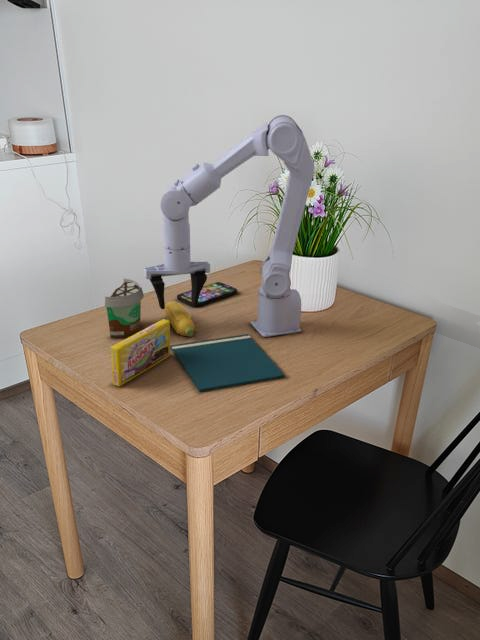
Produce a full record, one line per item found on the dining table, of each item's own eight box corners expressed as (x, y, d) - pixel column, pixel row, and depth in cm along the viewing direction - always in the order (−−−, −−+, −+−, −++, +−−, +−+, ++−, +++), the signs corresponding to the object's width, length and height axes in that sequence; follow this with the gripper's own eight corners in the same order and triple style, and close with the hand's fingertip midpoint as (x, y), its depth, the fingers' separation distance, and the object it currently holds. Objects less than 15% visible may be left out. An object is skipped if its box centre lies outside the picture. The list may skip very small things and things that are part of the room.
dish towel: (247, 336, 142) (247, 333, 142) (284, 377, 127) (285, 374, 126) (170, 347, 136) (170, 344, 136) (199, 392, 121) (199, 389, 121)
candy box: (120, 388, 121) (117, 349, 117) (112, 385, 122) (108, 346, 118) (171, 356, 133) (170, 320, 128) (163, 353, 134) (162, 317, 129)
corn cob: (178, 313, 152) (178, 297, 150) (198, 340, 140) (198, 323, 138) (162, 315, 151) (161, 299, 148) (181, 342, 139) (181, 325, 136)
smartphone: (239, 289, 163) (195, 304, 154) (239, 293, 163) (195, 308, 154) (218, 281, 167) (174, 295, 158) (218, 284, 168) (174, 298, 159)
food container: (135, 343, 138) (132, 300, 132) (108, 340, 138) (104, 297, 133) (152, 321, 148) (150, 280, 142) (127, 318, 149) (124, 277, 143)
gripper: (203, 237, 141) (203, 295, 148) (139, 243, 136) (142, 302, 144) (213, 247, 135) (213, 306, 143) (147, 253, 131) (150, 314, 138)
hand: (178, 305), depth 143 cm, fingers open, 7 cm apart
